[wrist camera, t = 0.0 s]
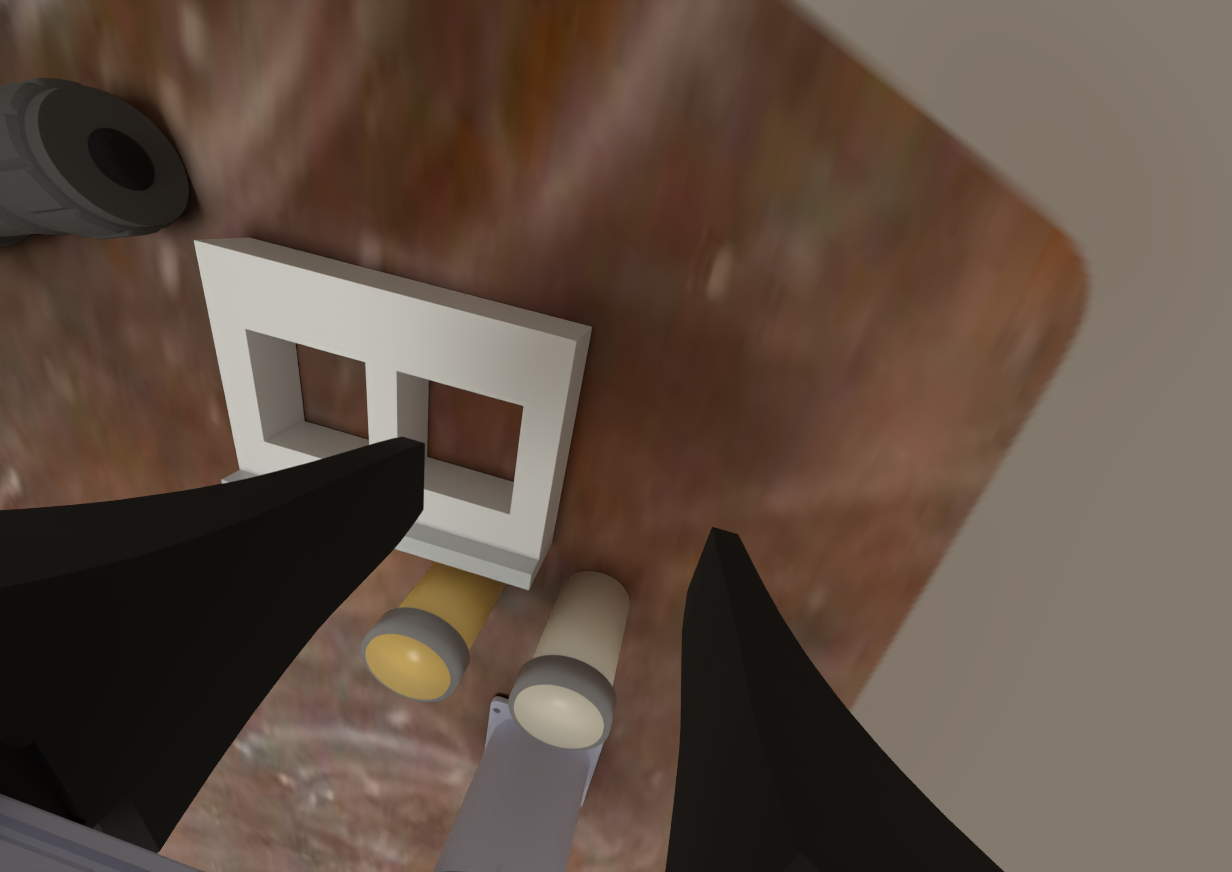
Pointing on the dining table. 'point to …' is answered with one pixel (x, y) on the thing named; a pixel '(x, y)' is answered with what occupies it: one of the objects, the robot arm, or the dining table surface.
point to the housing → (399, 388)
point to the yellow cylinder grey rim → (431, 633)
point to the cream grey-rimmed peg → (574, 666)
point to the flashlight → (83, 165)
